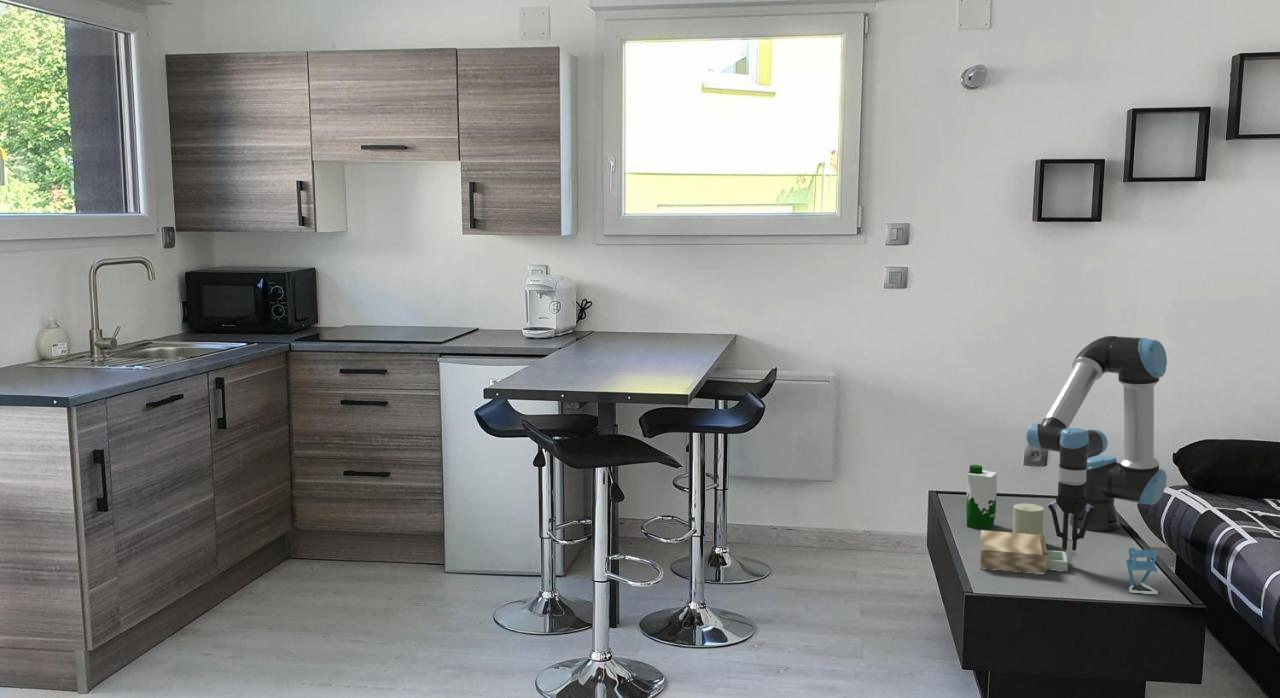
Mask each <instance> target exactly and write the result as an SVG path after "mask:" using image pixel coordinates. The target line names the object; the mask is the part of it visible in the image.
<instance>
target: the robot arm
mask: <svg viewBox="0 0 1280 698" xmlns="http://www.w3.org/2000/svg"><path fill="white" fill-rule="evenodd" d="M1071 367H1072V370H1071V372H1070V373H1069V375H1068V376H1067V378H1066V380H1065V382H1064V384H1063V385H1062V387H1061V388H1060V391H1059V392H1058V393H1057V396H1056V397H1055V399H1054V401H1053V402H1052V404H1051V406H1050V407H1049V409H1048V411H1047V413H1046V414H1045V416H1044V418H1043V419H1042V421H1041V422H1040V423H1039V422H1038V423H1031V424H1030V425H1029V426H1028V427H1027V430H1026V434H1025V435H1026V436H1025V439H1026V442H1027V445H1028V446H1029V447H1031V448H1033V449H1038V450H1042V451H1043V450H1045V451H1051V452H1056V453H1057V452H1058V453H1059V464H1058V480H1059V481H1058V483H1057V484H1058V485H1057V496H1056V498H1055V500H1054V501H1053V502H1048V503H1047V507H1048V509H1049V511H1050V512H1051V517H1052V519H1053V525H1054V530H1055V533H1056V536H1057V537H1058V538H1061V539H1062V541H1061V547H1062V550H1065V554H1066V558H1067V562H1068V563H1073V551H1074V552H1075V551H1076V550H1077V548H1078V547H1077V545H1078V540H1081V539H1084V537H1085V535H1086V531H1095V532H1111V531H1115V530H1118V529H1119V525H1120V519H1119V516H1118V513H1117V509H1116V507H1115V499H1117V500H1121V501H1122V500H1123V501H1127V502H1133V503H1137V504H1140V505H1141V504H1144V505H1152V506H1153V505H1155V504H1157V503H1158V502H1159V501H1160V500H1161V498H1162V497H1163V494H1164V492H1165V488H1166V484H1167V472H1166V471H1165V470H1163V469H1160V462H1159V460H1158V459H1156V458H1155V455H1154V454H1155V446H1154V444H1155V434H1154V433H1155V427H1154V425H1155V424H1154V423H1155V417H1154V416H1155V413H1154V411H1155V408H1154V407H1155V405H1154V404H1155V392H1154V390H1155V388H1154V387H1155V386H1156V385H1157V384H1158V382H1160V378H1163V376H1164V375H1165V373H1166V372H1167V367H1168V357H1167V352H1166V349H1165V347H1164V345H1163V344H1162V342H1160V341H1158V340H1157V339H1151V338H1150V339H1149V338H1146V337H1131V336H1130V337H1129V336H1128V337H1127V336H1116V335H1107V336H1102V337H1100V338H1097V339H1095V340H1094V341H1092V342H1090V343H1089V344H1088V345H1086V346H1085V347H1084V348H1082V350H1081V351H1080V352H1079V353H1078V354H1076V356H1075V357H1074V359H1073V361H1072V364H1071ZM1106 373H1112V374H1113V373H1115V374H1117V375H1118V376H1117V378H1118V382H1119V383H1120V384H1122V386H1123V449H1124V450H1123V456H1122V457H1121V458H1120V459H1119V461H1118V460H1117V457H1115V456H1112V455H1101V454H1102V453H1104V452H1105V451H1106V449H1107V448H1108V444H1109V442H1108V438H1107V436H1106V435H1105V433H1104V432H1103V431H1101V430H1098V429H1088V430H1086V429H1084V428H1077V427H1070V425H1071V424H1072V423H1073V421H1074V418H1075V417H1076V415H1077V414H1078V412H1079V410H1080V408H1081V407H1082V405H1083V403H1084V402H1085V399H1086V398H1087V396H1088V395H1089V393H1090V391H1091V389H1092V387H1093V385H1094V384H1095V382H1096V381H1098V380H1100V379H1102V376H1103V375H1104V374H1106ZM1069 427H1070V428H1069ZM1057 506H1058V507H1059V508H1060V510H1061V511H1062V512H1063V516H1062V517H1063V519H1062V531H1061V528H1060V524H1059V519H1058V515H1057V512H1056V511H1057V509H1058V507H1057ZM1069 524H1070V525H1071V526H1072V527H1071V528H1072V529H1071V537H1069V536H1068V535H1069ZM1078 528H1079V532H1078Z"/></svg>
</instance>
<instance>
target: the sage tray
mask: <svg viewBox="0 0 1280 698" xmlns="http://www.w3.org/2000/svg"><path fill="white" fill-rule="evenodd" d="M1068 563H1069V562H1067V558H1066V551H1061V550H1050V549H1049V550H1048V549H1047V569H1056V570H1063V571H1067V572H1068Z"/></svg>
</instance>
